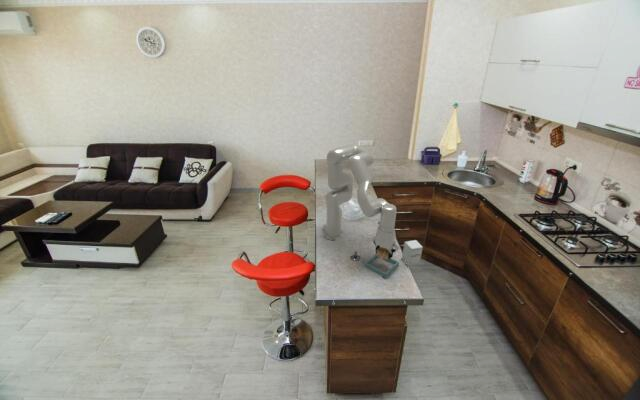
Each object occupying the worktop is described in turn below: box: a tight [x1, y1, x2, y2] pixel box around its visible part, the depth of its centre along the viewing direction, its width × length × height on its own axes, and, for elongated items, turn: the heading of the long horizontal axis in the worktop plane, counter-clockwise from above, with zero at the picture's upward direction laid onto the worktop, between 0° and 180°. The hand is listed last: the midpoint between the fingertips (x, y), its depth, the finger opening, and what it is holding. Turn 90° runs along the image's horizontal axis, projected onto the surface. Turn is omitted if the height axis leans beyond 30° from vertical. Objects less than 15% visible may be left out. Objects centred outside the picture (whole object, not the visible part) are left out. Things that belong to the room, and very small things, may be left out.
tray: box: [364, 253, 400, 280], centre depth 169 cm, size 14×14×3 cm
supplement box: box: [401, 239, 424, 268], centre depth 171 cm, size 7×7×13 cm
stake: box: [349, 251, 362, 262], centre depth 175 cm, size 6×6×5 cm
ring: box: [377, 246, 389, 260], centre depth 165 cm, size 7×7×3 cm
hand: (383, 254), depth 165 cm, fingers closed on ring, 7 cm apart
